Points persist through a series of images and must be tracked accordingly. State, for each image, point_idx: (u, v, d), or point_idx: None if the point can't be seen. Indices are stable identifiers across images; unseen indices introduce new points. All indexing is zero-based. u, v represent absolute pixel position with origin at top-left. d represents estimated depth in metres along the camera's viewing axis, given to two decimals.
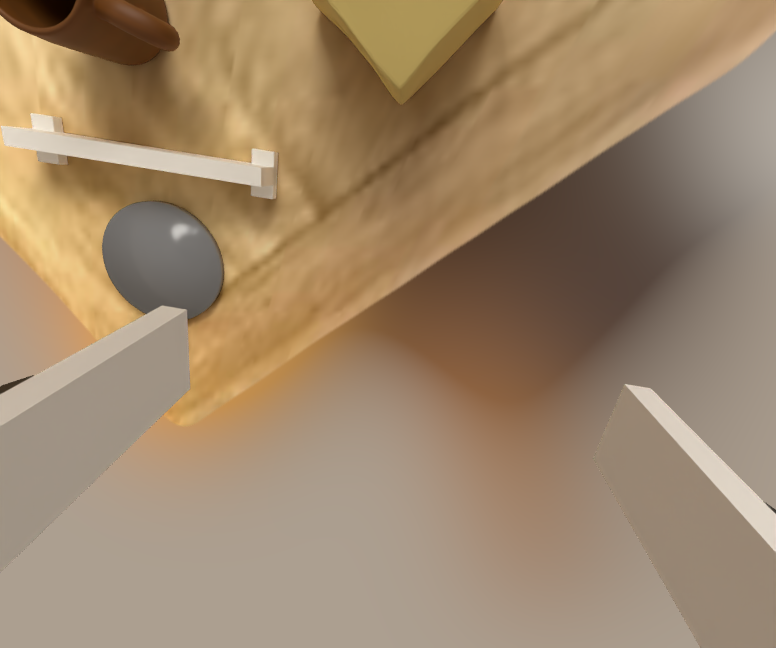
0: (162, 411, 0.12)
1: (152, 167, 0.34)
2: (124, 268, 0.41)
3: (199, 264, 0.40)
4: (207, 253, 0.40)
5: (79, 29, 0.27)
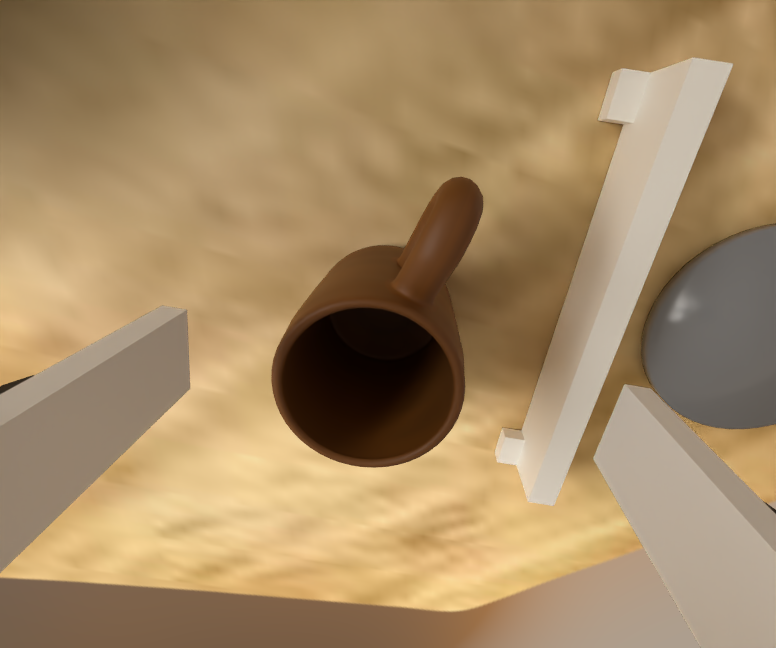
0: (162, 411, 0.12)
1: (635, 297, 0.19)
2: (751, 400, 0.24)
3: None
4: None
5: (453, 337, 0.15)
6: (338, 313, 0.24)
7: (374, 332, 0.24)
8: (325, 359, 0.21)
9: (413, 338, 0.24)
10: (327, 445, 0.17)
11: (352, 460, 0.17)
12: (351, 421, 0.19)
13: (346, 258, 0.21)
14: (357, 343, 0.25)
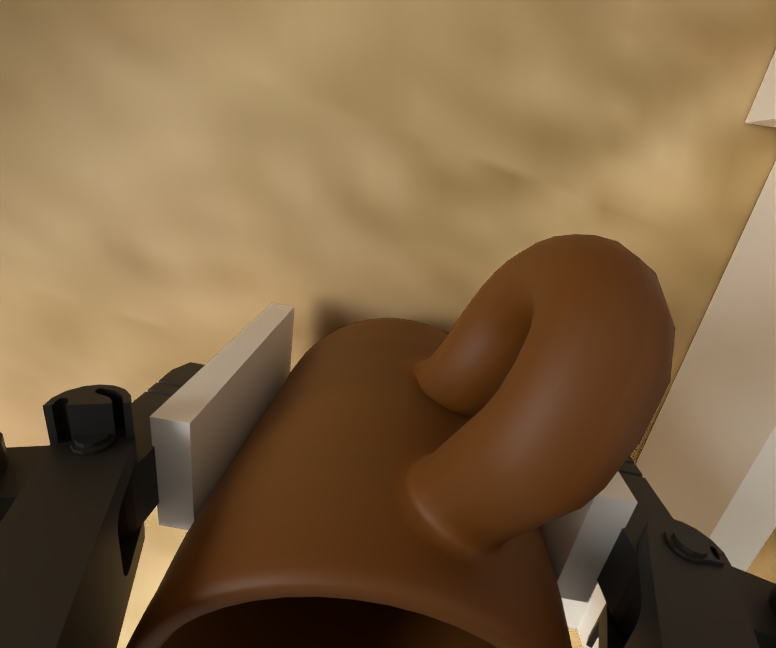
0: None
1: None
2: None
3: None
4: None
5: (558, 622, 0.06)
6: None
7: None
8: None
9: None
10: None
11: None
12: None
13: (325, 346, 0.12)
14: None
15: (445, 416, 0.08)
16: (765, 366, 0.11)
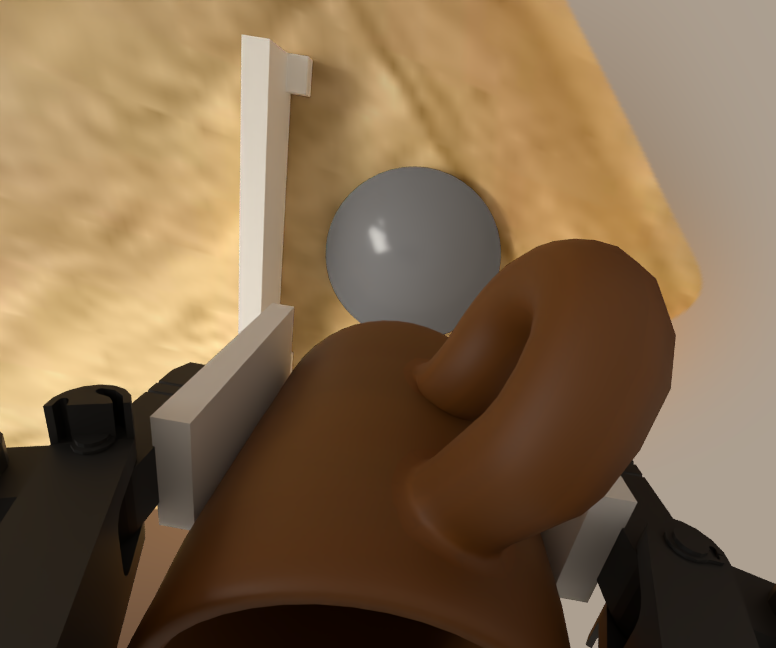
0: None
1: (261, 217, 0.25)
2: (417, 314, 0.30)
3: (412, 199, 0.27)
4: (395, 184, 0.27)
5: (557, 628, 0.06)
6: None
7: None
8: None
9: None
10: None
11: None
12: None
13: (324, 349, 0.12)
14: None
15: (444, 420, 0.08)
16: None
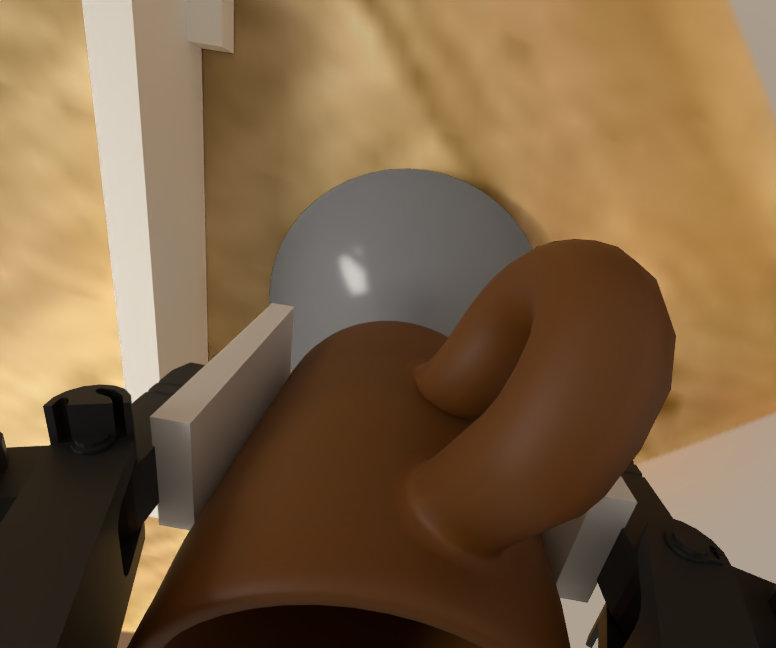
0: None
1: (146, 255, 0.15)
2: None
3: (403, 222, 0.17)
4: (375, 197, 0.16)
5: (557, 628, 0.06)
6: None
7: None
8: None
9: None
10: None
11: None
12: None
13: (324, 349, 0.12)
14: None
15: (445, 420, 0.08)
16: None
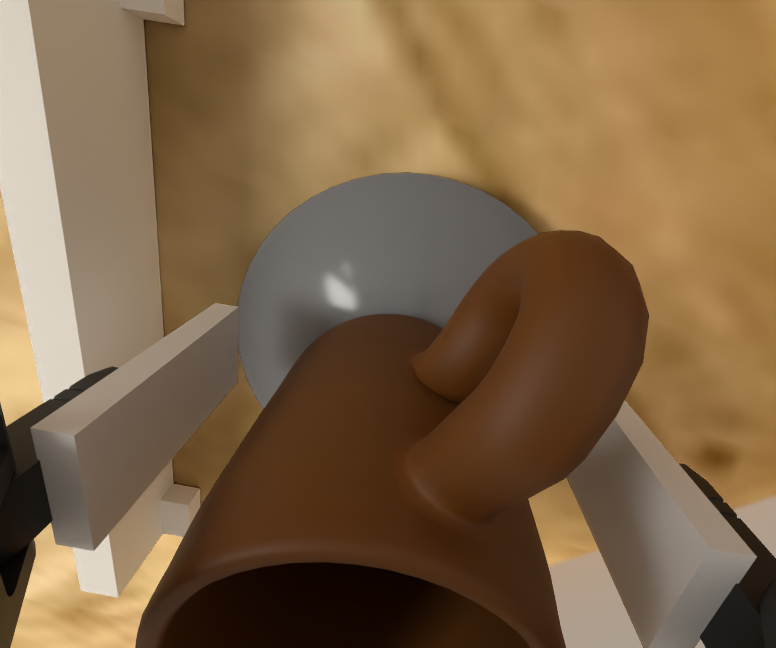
0: (217, 402, 0.12)
1: (66, 286, 0.11)
2: None
3: (400, 239, 0.13)
4: (366, 208, 0.13)
5: (545, 592, 0.07)
6: None
7: None
8: None
9: None
10: None
11: None
12: None
13: (326, 340, 0.13)
14: None
15: (441, 404, 0.09)
16: None
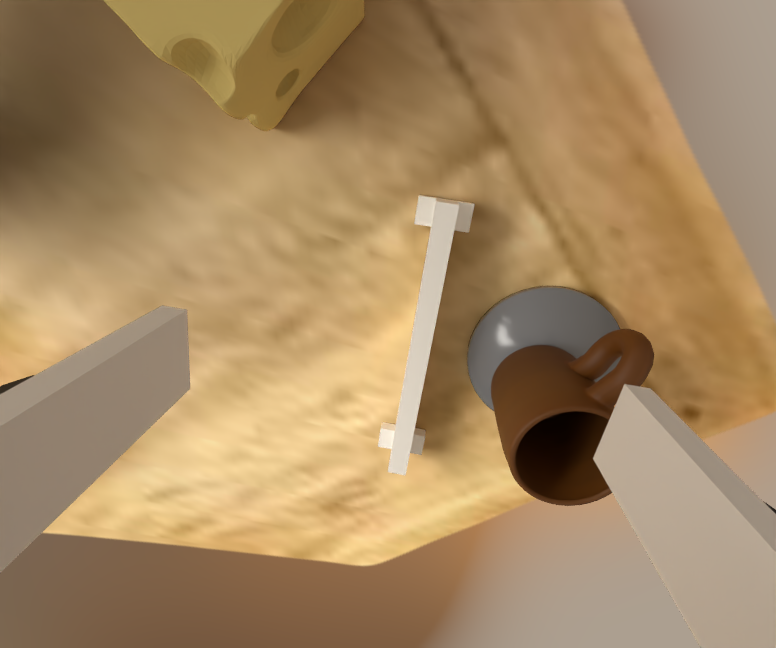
0: (162, 411, 0.12)
1: (431, 335, 0.30)
2: None
3: (550, 314, 0.31)
4: (536, 301, 0.31)
5: None
6: None
7: None
8: None
9: None
10: (534, 490, 0.26)
11: (552, 500, 0.26)
12: (536, 471, 0.28)
13: (522, 356, 0.31)
14: None
15: (585, 379, 0.27)
16: None
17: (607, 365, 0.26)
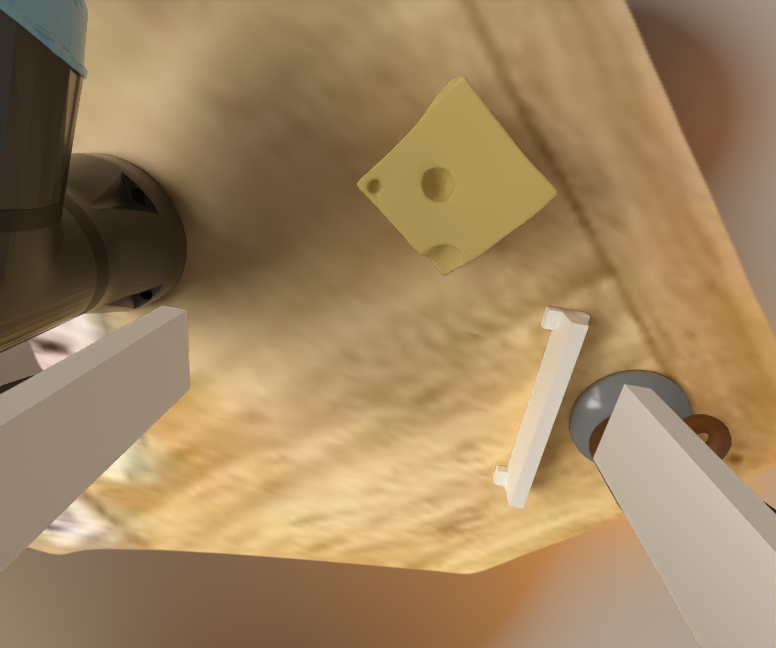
0: (162, 411, 0.12)
1: (556, 411, 0.40)
2: None
3: None
4: (629, 382, 0.42)
5: None
6: None
7: None
8: None
9: None
10: None
11: None
12: None
13: None
14: None
15: None
16: (543, 393, 0.41)
17: None
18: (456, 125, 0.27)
